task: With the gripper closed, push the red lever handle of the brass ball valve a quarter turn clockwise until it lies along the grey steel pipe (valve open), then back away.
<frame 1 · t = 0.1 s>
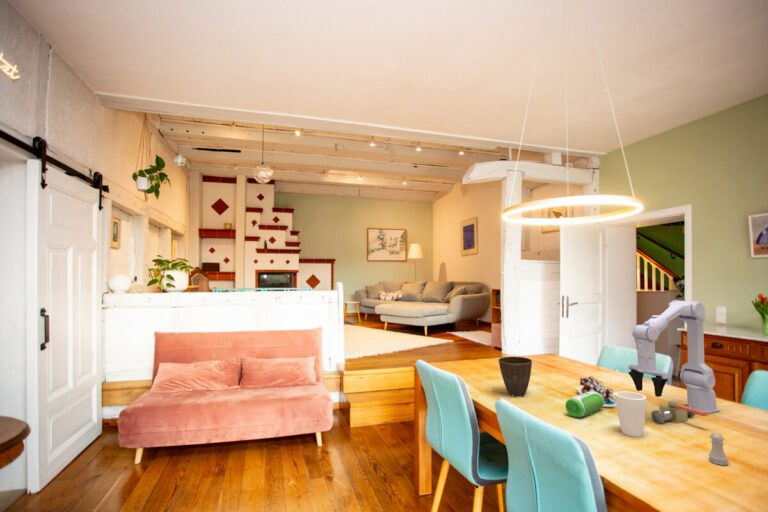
hand: (648, 393, 145), 10 cm above the table, tool pointing down, fingers open, 7 cm apart
rook chess piece: (718, 462, 113), on the table
valve body: (673, 419, 145), on the table
speaker: (585, 413, 154), on the table
foam cup: (632, 433, 134), on the table
plant pot: (516, 394, 179), on the table
lever: (686, 408, 141), point 6 cm above the table, hinge at 90.0°
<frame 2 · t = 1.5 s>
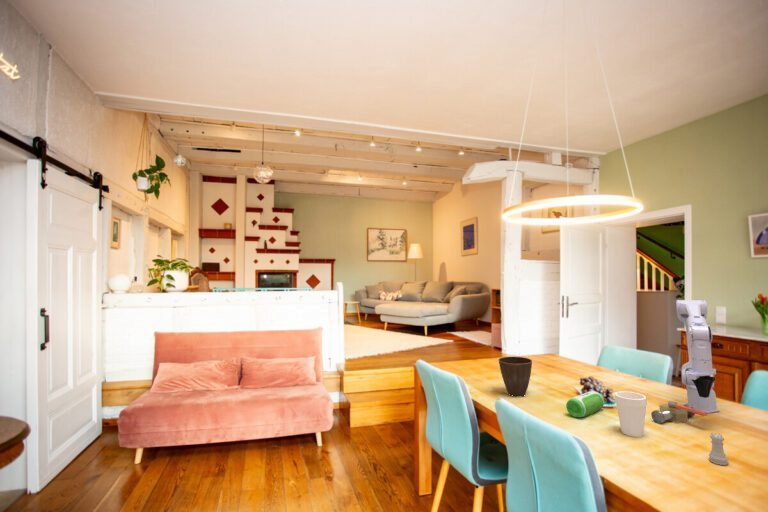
hand: (704, 396, 139), 10 cm above the table, tool pointing down, fingers closed
nothing on the table moved.
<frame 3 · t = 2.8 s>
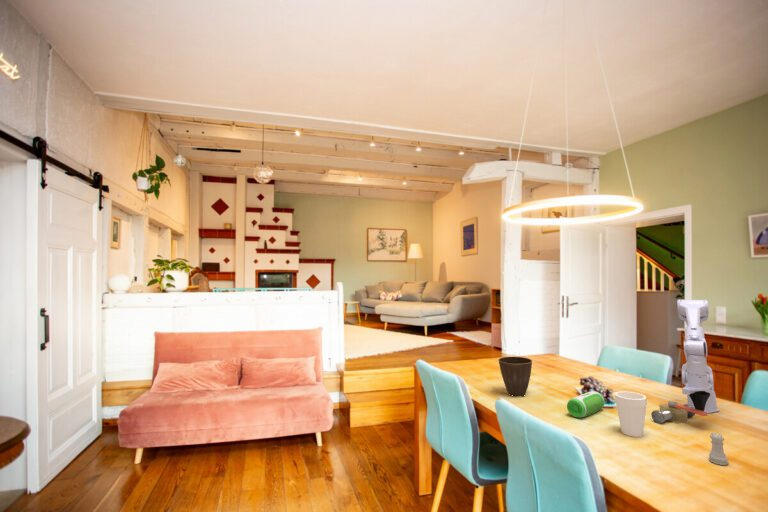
hand: (699, 412, 138), 5 cm above the table, tool pointing down, fingers closed, pressing on lever
lever: (686, 408, 141), point 6 cm above the table, hinge at 90.0°, touching gripper
everything else where it was.
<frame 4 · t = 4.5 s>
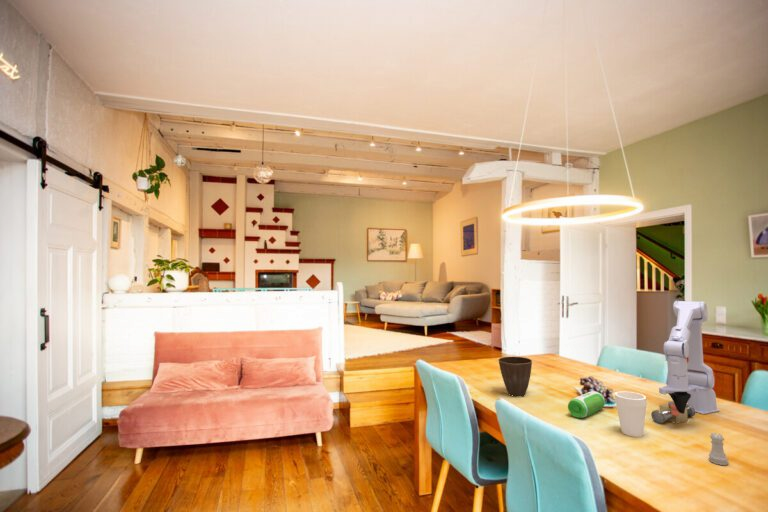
hand: (680, 412, 138), 5 cm above the table, tool pointing down, fingers closed, pressing on lever
lever: (673, 408, 141), point 6 cm above the table, hinge at 37.9°, touching gripper
everything else where it was.
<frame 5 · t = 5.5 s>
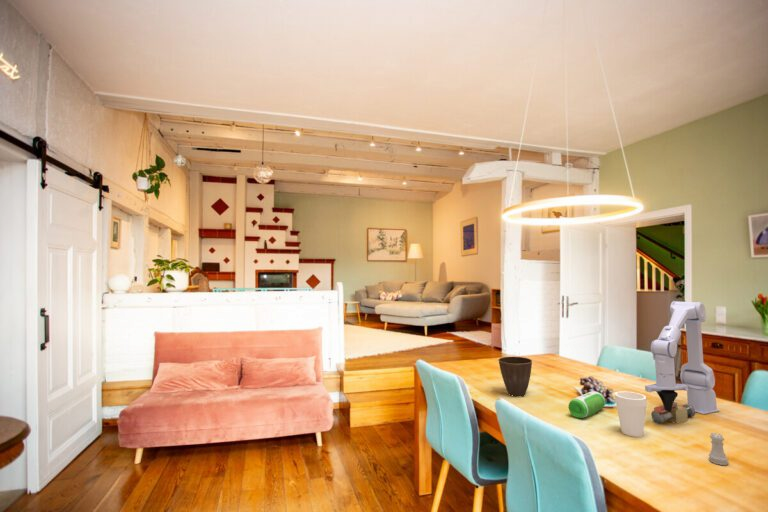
hand: (667, 410, 140), 5 cm above the table, tool pointing down, fingers closed, pressing on lever
lever: (666, 406, 143), point 6 cm above the table, hinge at 9.3°, touching gripper
everything else where it was.
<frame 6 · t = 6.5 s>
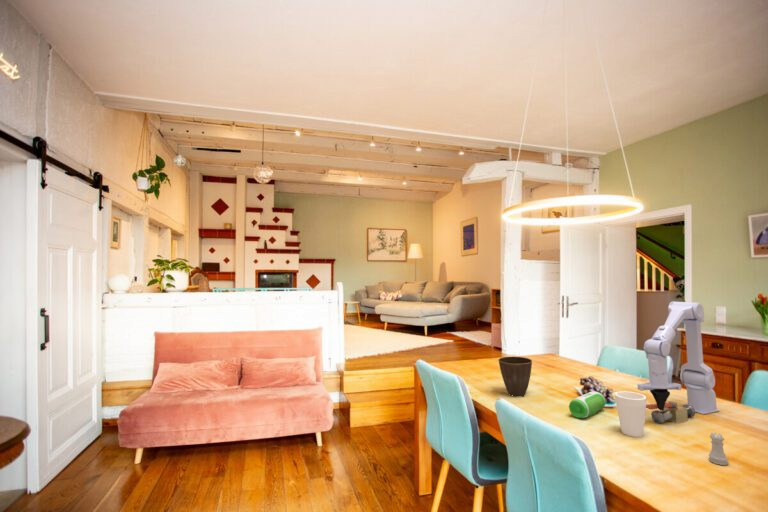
hand: (660, 409, 142), 5 cm above the table, tool pointing down, fingers closed
lever: (662, 405, 144), point 6 cm above the table, hinge at -8.2°, touching gripper
everything else where it was.
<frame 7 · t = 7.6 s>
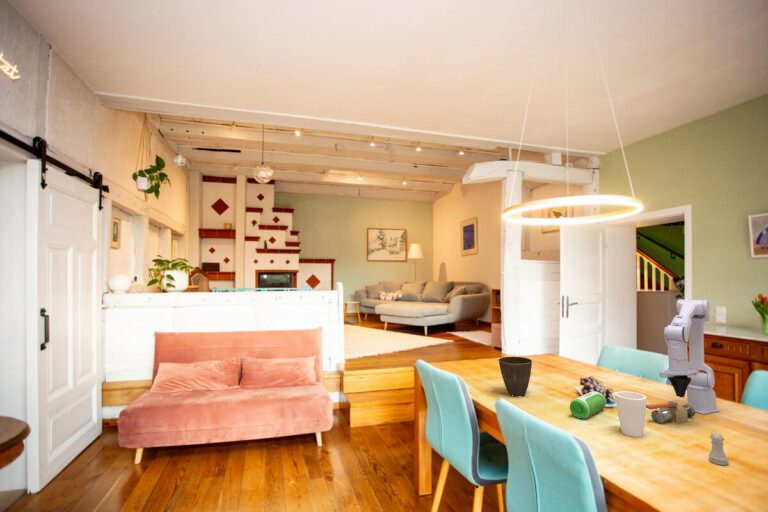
hand: (680, 396, 140), 10 cm above the table, tool pointing down, fingers closed
lever: (662, 405, 144), point 6 cm above the table, hinge at -8.0°
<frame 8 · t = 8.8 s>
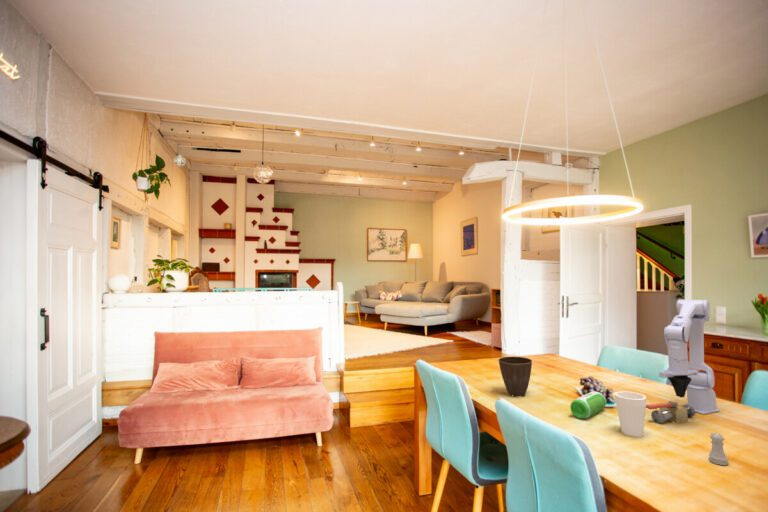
hand: (680, 396, 140), 10 cm above the table, tool pointing down, fingers closed
at the end: lever at -8° (first picture: +90°); lever touching nothing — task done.
